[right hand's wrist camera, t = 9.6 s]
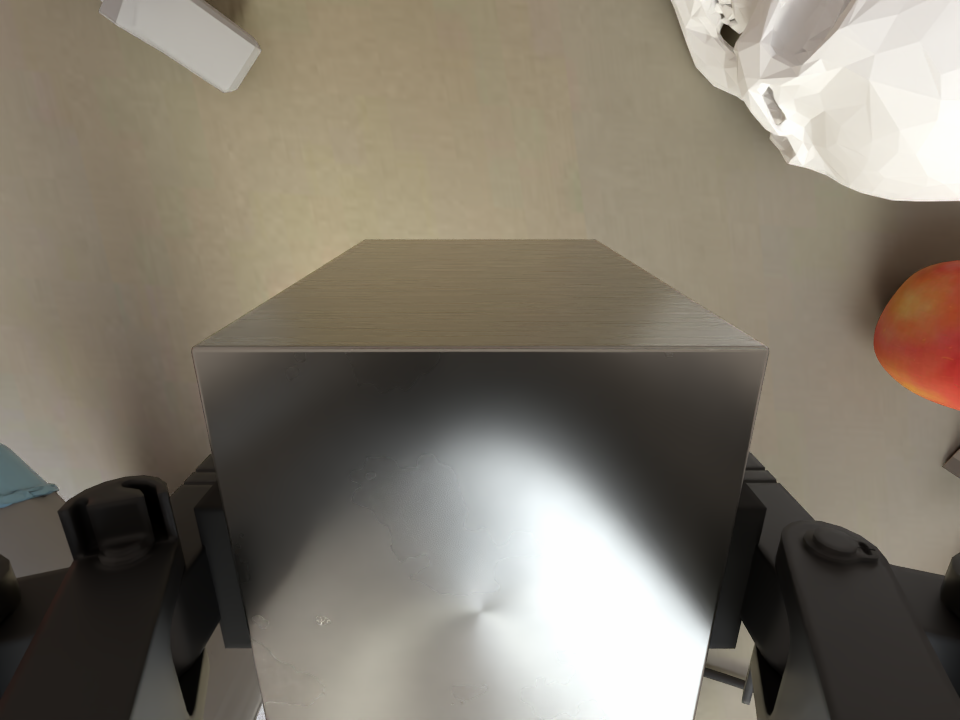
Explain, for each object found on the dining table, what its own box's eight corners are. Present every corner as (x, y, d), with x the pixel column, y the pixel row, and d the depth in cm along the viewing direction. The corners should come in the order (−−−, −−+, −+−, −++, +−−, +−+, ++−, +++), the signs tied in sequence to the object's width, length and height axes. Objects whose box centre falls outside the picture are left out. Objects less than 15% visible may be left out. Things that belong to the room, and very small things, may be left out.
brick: (363, 239, 15) (188, 347, 6) (596, 239, 15) (771, 347, 6) (381, 475, 18) (279, 794, 9) (578, 475, 18) (680, 793, 9)
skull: (718, -191, 28) (971, -565, 13) (1022, 20, 31) (1493, -92, 17) (590, 64, 33) (672, -4, 18) (867, 224, 36) (1127, 278, 21)
